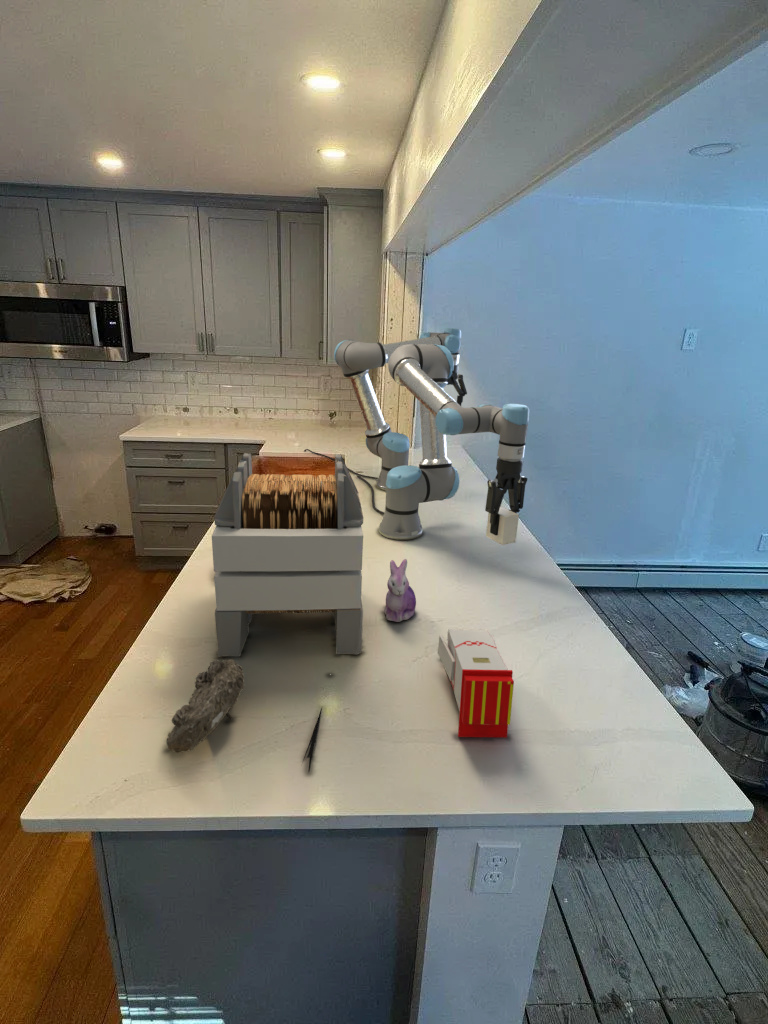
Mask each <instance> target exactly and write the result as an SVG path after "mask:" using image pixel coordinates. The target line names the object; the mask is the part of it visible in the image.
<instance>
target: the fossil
mask: <svg viewBox="0 0 768 1024" xmlns="http://www.w3.org/2000/svg"><path fill="white" fill-rule="evenodd" d="M243 670H244V669H243V667H242V665H240V664H237V662H236V661H235V660H234V659H232V658H231V659H227V658H226V659H224V660H223V661H222V660H217V659H212V660H211V661H210V663H209V665H208V666H207V671H201V672H199V673H198V674H197V675H196V676H195V680H194V684H195V685H194V687H195V689H194V690H193V693H192V694H191V697H190V698H189V700H188V704H184V705H182V706H181V707H180V709H177V710H176V711H175V713H174V715H173V716H172V718H171V723H172V724H173V727H172V730H171V731H170V732H168V734H167V738H166V741H167V742H166V745H167V749H168V750H169V751H173V752H174V753H176V754H178V753H182V752H188V751H189V752H192V751H193V750H195V748H196V747H197V746H199V744H200V743H201V742H203V741H204V740H205V739H206V738H207V737H208V736H209V735H210V734H211V733H212V732H214V730H215V729H217V727H218V726H219V724H220V722H221V721H222V720H223V719H224V718H225V716H226V717H227V719H229V720H233V717H232V715H230V714H229V710H230V709H231V708H234V706H235V704H236V703H237V702H238V699H239V697H240V695H241V693H242V691H243V690H245V689H244V688H245V675H244V671H243Z"/></svg>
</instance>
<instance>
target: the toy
mask: <svg viewBox="0 0 768 1024" xmlns="http://www.w3.org/2000/svg"><path fill="white" fill-rule="evenodd" d="M446 640H447V643H446V641H445V639H444V636H443V635H442V634H439V637H438V646H437V656H438V657H439V659H440V661H441V663H442V666H443V668H444V670H445V672H446V674H447V677H448V679H449V681H450V684H451V687H452V690H453V693H454V697H455V701H456V705H457V708H458V711H459V714H458V715H459V716H458V730H457V731H458V732H457V737H458V738H508V731H509V726H510V725H511V717H512V707H513V697H514V696H513V695H514V684H515V680H514V679H513V673H514V671H513V670H512V669H508V667H507V665H506V662H505V661H504V659H503V658H502V655H501V653H500V651H499V649H498V647H497V643H496V639H495V637H494V635H493V634H491V632H490V631H489V629H467V628H466V629H465V628H463V629H461V628H460V629H459V628H448V630H447V639H446Z"/></svg>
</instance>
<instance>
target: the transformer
mask: <svg viewBox="0 0 768 1024" xmlns="http://www.w3.org/2000/svg"><path fill="white" fill-rule="evenodd" d="M334 459H335V461H334V474H329V475H328V476H327V475H325V474H318V475H313V474H290V475H289V474H288V475H287V474H286V475H285V474H279V473H278V474H275V473H274V474H273V473H272V474H270V473H266V474H265V473H262V474H259V473H253V463H252V453H248V452H247V453H246V452H244V453H242V456H241V459H240V460H239V462H238V465H237V467H236V469H235V471H234V472H233V474H232V476H231V478H230V480H229V483H228V485H227V487H226V490H225V492H224V494H223V496H222V498H221V501H220V503H219V504H218V507H217V510H216V512H215V514H214V517H213V522H214V525H215V528H214V529H213V532H212V534H211V548H212V562H213V563H212V565H213V572H215V571H217V572H215V575H214V577H213V579H214V594H215V610H214V620H215V634H216V635H215V636H216V643H217V653H216V655H217V657H218V658H224V657H240V656H241V654H242V651H243V648H244V647H245V644H246V640H247V638H248V636H249V624H251V622H252V619H253V615H254V614H255V615H256V614H260V615H261V614H273V613H274V614H307V613H308V614H309V613H311V614H314V613H315V614H317V613H333V615H334V635H335V654H336V655H356V656H357V655H359V654H361V653H362V650H363V619H364V618H363V617H364V608H363V601H362V586H363V585H362V584H363V574H362V571H363V549H364V533H363V532H364V531H363V529H362V528H363V527H362V525H363V524H364V514H363V508H362V504H361V500H360V495H359V491H358V488H357V485H356V484H355V482H354V479H353V478H352V475H351V473H350V471H349V470H348V469H347V468H348V466H347V464H346V462H345V460H344V458H343V456H342V454H341V453H335V456H334Z"/></svg>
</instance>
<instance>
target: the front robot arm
mask: <svg viewBox="0 0 768 1024" xmlns="http://www.w3.org/2000/svg"><path fill="white" fill-rule="evenodd" d="M387 368H388V373H389V375H390V377H391V378H392V379H393V381H394V382H395V383H396V384H397V385H398V386H401V387H405V388H406V390H408V391H409V392H410V393H411V394H412V395H413V396H414V397H415V398H416V399H417V400H418V402H419V415H420V433H421V436H420V437H421V452H422V459H421V461H420V462H419V463H418V466H417V465H412V464H411V465H409V464H408V466H406V465H404V466H398V467H395V468H393V469H391V470H390V471H389V472H388V474H387V480H386V491H385V504H384V505H385V507H384V508H385V509H384V511H382V510H380V509H378V508H377V507H376V503H375V492H374V488H373V486H372V485H371V483H370V482H369V481H368V480H367V479H365V478H363V476H359V475H357V476H356V477H357V479H359V480H362V482H364V483H365V484H366V485H368V487H369V488H370V491H371V504H372V508H373V510H374V511H375V512H376V513H378V514H381V515H382V519H381V522H379V526H378V533H379V534H380V535H381V536H382V537H385V538H387V539H389V540H395V541H410V540H415V539H418V538H420V537H421V536H422V535H423V525H422V524H421V518H420V515H419V507H420V506H419V505H420V504H421V503H422V504H423V503H428V502H429V503H430V502H436V501H444V500H449V499H451V498H453V497H454V496H455V495H456V494H457V493H458V490H459V488H460V474H459V472H458V469H457V468H456V467H454V466H453V464H452V461H451V460H450V459H449V458H448V452H447V451H448V450H447V436H457V435H465V434H466V435H467V434H481V433H492V434H495V435H499V441H498V446H497V447H498V448H497V458H496V466H495V470H496V476H495V477H494V478H493V479H487V483H486V484H487V494H486V500H485V501H486V502H485V510H484V511H485V512H487V513H490V514H491V515H490V524H491V527H490V533H492V534H494V535H498V527H499V519H500V515H499V514H498V512H499V509H500V507H502V506H501V505H502V502H503V499H504V496H505V495H506V494H508V503H509V510H510V511H512V512H515V513H517V514H518V513H519V512H520V511H521V510H522V509H523V508H524V502H525V492H526V484H527V482H528V477H526V476H524V475H522V474H521V473H522V472H523V467H524V460H523V459H524V458H525V452H526V451H525V450H526V444H527V443H526V442H527V436H528V435H527V434H528V430H529V429H528V428H529V423H530V408H529V407H528V406H527V405H526V404H519V403H506V404H504V405H503V406H502V407H498V406H495V405H492V404H486V403H485V404H480V405H478V406H474V407H473V406H472V407H463V406H462V405H461V406H460V405H459V404H458V403H457V400H455V399H454V398H453V397H452V396H451V395H449V394H448V393H447V391H445V390H444V389H445V388H446V386H448V385H447V384H448V381H447V379H448V378H450V377H451V375H452V371H453V369H454V361H453V357H452V354H451V352H450V351H449V350H448V349H447V348H446V347H445V346H442V345H435V344H423V345H412V344H406V345H402V346H400V347H398V348H397V349H396V350H394V352H393V353H392V354H391V356H390V358H389V362H388V363H387ZM494 509H495V510H494Z"/></svg>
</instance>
